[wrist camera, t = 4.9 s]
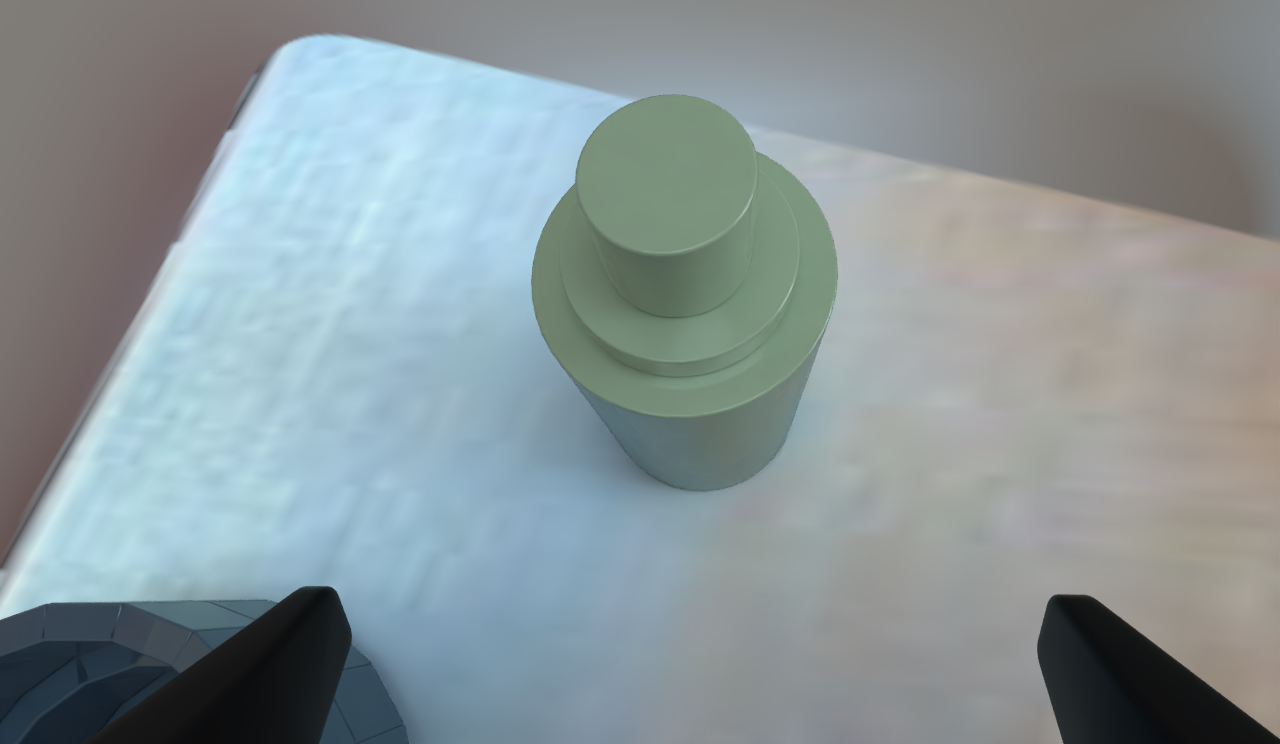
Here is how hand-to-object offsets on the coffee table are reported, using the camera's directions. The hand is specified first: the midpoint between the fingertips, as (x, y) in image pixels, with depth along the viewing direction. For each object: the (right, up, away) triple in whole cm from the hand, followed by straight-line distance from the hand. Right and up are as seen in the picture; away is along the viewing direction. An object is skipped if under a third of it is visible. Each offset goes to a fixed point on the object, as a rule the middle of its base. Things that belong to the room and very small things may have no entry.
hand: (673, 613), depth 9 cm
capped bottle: (+1, +2, +12) cm, 13 cm away
